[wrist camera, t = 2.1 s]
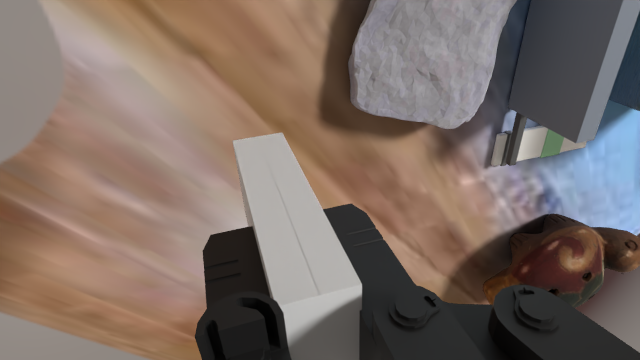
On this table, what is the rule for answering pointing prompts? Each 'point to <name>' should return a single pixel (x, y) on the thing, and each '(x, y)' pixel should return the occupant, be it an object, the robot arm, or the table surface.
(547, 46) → the gauge plate
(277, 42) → the table surface
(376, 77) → the stone block
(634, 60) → the dark gray block
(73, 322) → the table surface
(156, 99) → the table surface
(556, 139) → the pale flat strip
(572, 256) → the decorative turtle
